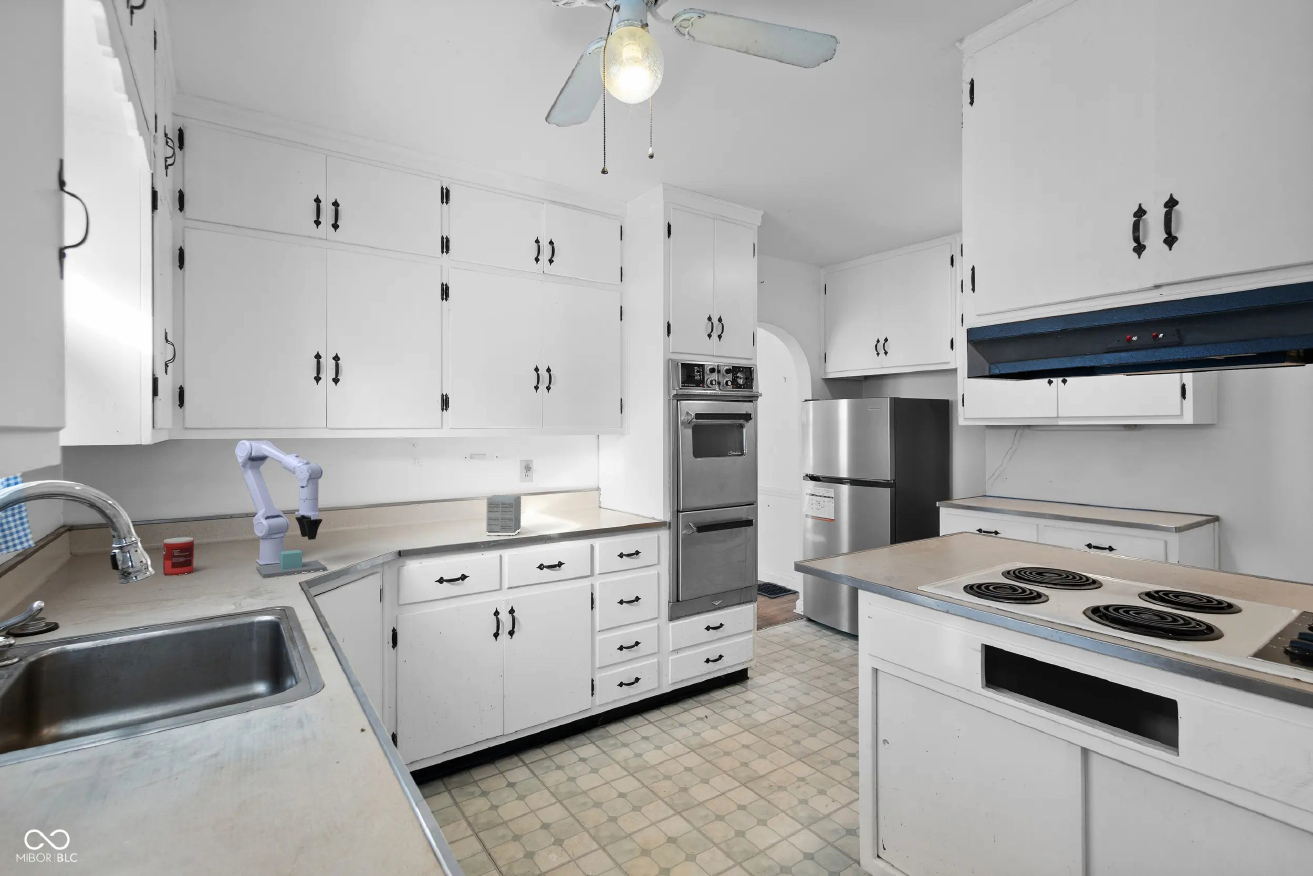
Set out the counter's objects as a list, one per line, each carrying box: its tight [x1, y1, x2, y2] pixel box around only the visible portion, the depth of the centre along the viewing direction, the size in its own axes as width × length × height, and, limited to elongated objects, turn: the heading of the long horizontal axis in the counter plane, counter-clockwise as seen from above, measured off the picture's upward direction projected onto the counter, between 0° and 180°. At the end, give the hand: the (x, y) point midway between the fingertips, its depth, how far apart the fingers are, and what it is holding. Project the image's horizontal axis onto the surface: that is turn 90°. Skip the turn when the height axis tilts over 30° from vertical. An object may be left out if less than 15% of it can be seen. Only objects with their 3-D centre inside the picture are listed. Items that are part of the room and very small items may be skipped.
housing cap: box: [279, 549, 303, 569], centre depth 204 cm, size 6×6×5 cm
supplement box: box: [485, 494, 522, 533], centre depth 285 cm, size 13×13×18 cm
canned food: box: [162, 536, 195, 576], centre depth 198 cm, size 8×8×11 cm
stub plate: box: [256, 560, 328, 579], centre depth 204 cm, size 14×18×4 cm
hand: (308, 538), depth 212 cm, fingers open, 7 cm apart
